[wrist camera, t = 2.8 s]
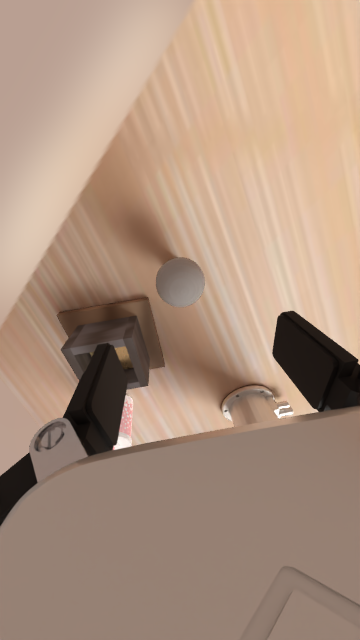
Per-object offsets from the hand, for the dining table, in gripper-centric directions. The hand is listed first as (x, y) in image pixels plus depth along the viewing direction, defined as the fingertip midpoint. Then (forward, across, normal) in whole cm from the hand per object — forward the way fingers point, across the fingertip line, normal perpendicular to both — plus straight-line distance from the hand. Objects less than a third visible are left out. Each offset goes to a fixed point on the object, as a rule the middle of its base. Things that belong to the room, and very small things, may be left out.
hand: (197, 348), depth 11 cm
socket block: (+19, +12, +12) cm, 25 cm away
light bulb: (+19, 0, 0) cm, 19 cm away
